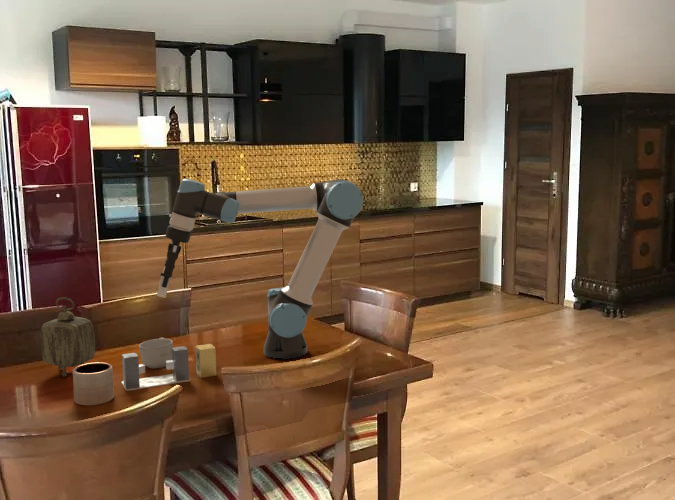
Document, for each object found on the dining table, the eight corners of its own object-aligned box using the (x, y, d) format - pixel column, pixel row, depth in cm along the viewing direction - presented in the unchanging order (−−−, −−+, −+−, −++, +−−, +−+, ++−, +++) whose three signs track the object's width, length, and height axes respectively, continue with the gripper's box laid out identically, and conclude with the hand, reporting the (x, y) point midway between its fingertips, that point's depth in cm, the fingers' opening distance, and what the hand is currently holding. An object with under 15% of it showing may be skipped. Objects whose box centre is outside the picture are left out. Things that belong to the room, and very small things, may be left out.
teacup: (165, 372, 227) (164, 347, 225) (134, 370, 229) (132, 346, 228) (183, 358, 240) (182, 336, 239) (153, 357, 242) (152, 334, 241)
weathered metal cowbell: (96, 372, 226) (92, 296, 223) (77, 381, 218) (72, 302, 214) (59, 367, 231) (54, 293, 227) (40, 376, 223) (34, 299, 219)
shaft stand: (182, 373, 225) (181, 343, 223) (189, 380, 218) (188, 349, 216) (121, 382, 217) (119, 351, 215) (126, 391, 209) (124, 358, 208)
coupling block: (211, 370, 228) (211, 343, 226) (216, 375, 223) (215, 347, 222) (196, 373, 225) (195, 345, 224) (200, 377, 221) (199, 350, 220)
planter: (80, 393, 208) (78, 362, 206) (118, 392, 208) (116, 361, 207) (69, 407, 197) (67, 374, 195) (109, 406, 198) (107, 373, 196)
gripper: (169, 219, 233) (152, 280, 235) (167, 230, 209) (147, 297, 211) (192, 225, 235) (174, 285, 237) (192, 237, 211) (172, 304, 213)
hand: (161, 291), depth 224 cm, fingers open, 13 cm apart
